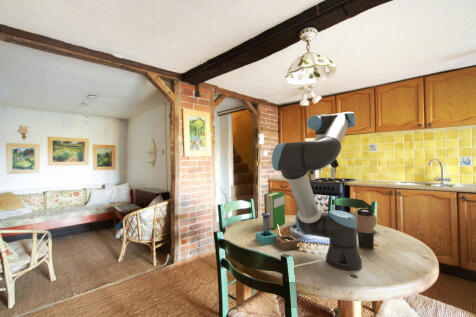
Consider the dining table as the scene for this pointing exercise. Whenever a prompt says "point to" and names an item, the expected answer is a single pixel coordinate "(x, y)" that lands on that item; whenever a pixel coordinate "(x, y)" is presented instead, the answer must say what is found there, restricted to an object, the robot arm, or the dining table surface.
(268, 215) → the lock pin
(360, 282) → the dining table surface
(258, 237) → the teal socket
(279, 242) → the walnut mount
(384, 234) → the dining table surface
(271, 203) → the hardback book
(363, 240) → the travel mug
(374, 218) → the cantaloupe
